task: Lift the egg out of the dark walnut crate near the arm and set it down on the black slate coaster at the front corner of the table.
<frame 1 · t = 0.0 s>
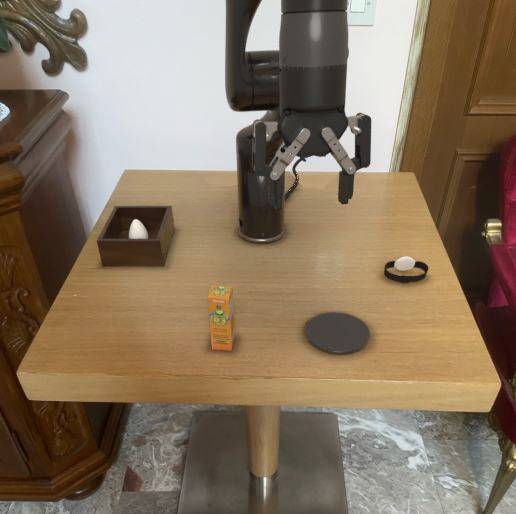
hand: (310, 205, 66), 22 cm above the table, tool pointing down, fingers open, 8 cm apart
crate: (140, 247, 104), on the table
coaster: (337, 334, 82), on the table
egg: (140, 246, 104), resting on crate
watch: (404, 278, 95), on the table
supplement box: (223, 345, 81), on the table
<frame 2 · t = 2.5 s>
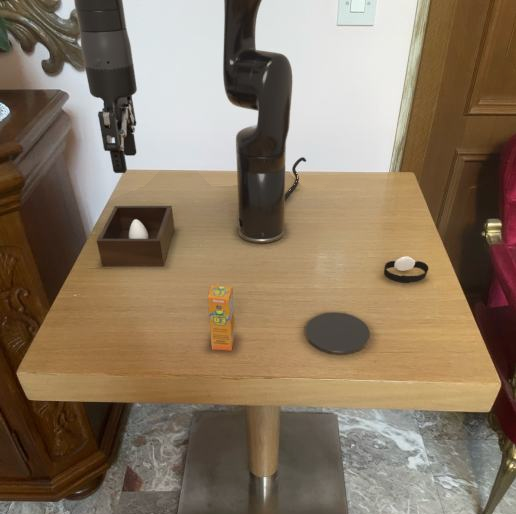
hand: (125, 163, 93), 17 cm above the table, tool pointing down, fingers open, 8 cm apart
nothing on the table moved.
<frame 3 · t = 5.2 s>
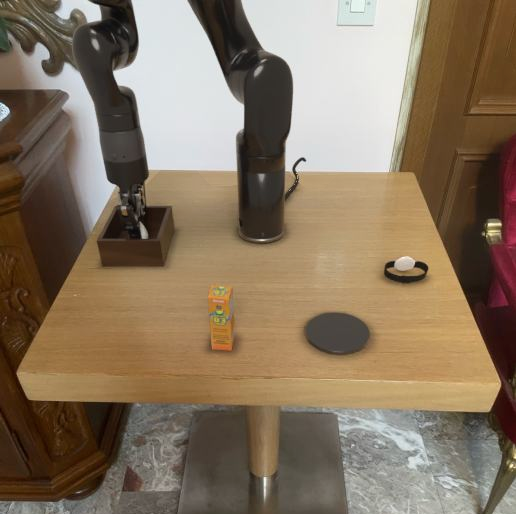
hand: (139, 239, 103), 2 cm above the table, tool pointing down, fingers closed on egg, 3 cm apart
egg: (140, 246, 104), resting on crate, touching gripper
everything else where it was.
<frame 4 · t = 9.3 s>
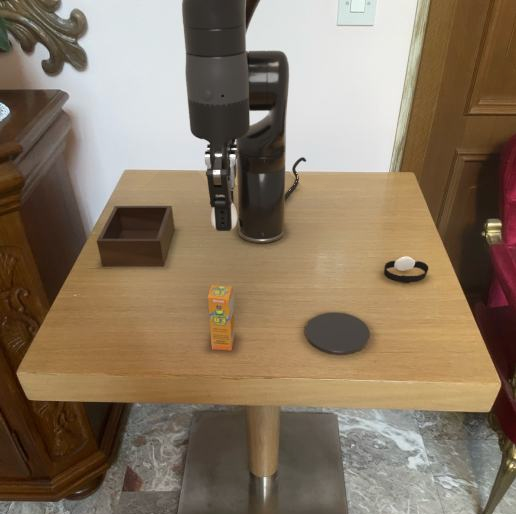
hand: (225, 221, 75), 17 cm above the table, tool pointing down, fingers closed on egg, 3 cm apart
egg: (225, 231, 75), point 16 cm above the table, touching gripper
everything else where it was.
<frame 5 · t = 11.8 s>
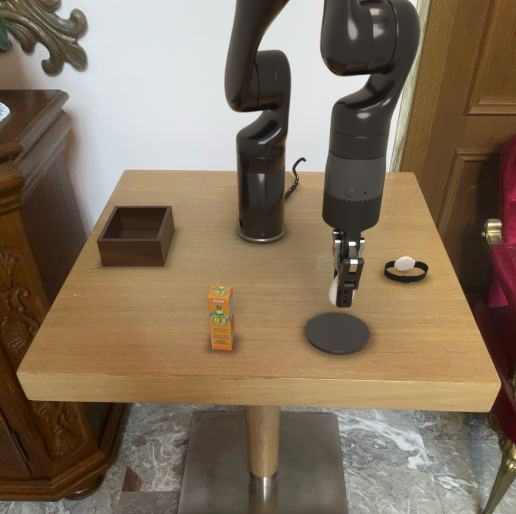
hand: (341, 297, 78), 7 cm above the table, tool pointing down, fingers closed on egg, 3 cm apart
egg: (340, 304, 78), point 6 cm above the table, touching gripper
everything else where it was.
when the fingers open (2 cm above the table, at t = 13.5 s): egg stays where it is, resting on coaster.
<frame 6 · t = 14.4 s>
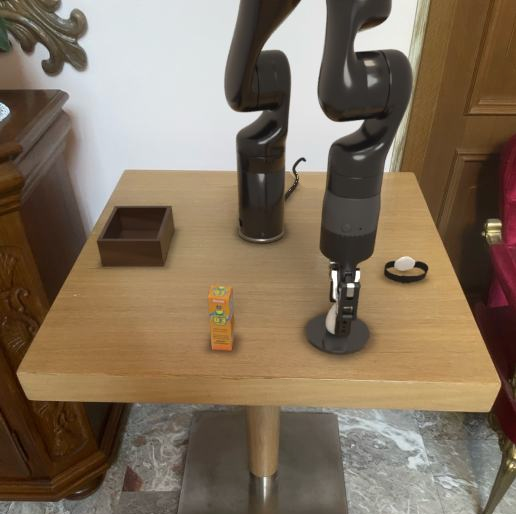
hand: (338, 317, 80), 3 cm above the table, tool pointing down, fingers open, 8 cm apart
egg: (336, 332, 82), resting on coaster
everything else where it was.
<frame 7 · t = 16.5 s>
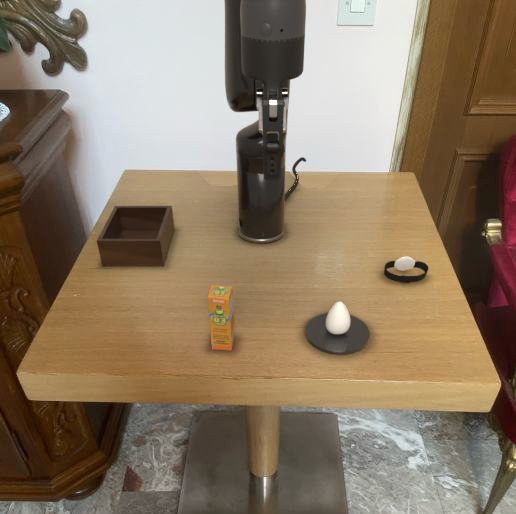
hand: (271, 166, 72), 24 cm above the table, tool pointing down, fingers open, 8 cm apart
nothing on the table moved.
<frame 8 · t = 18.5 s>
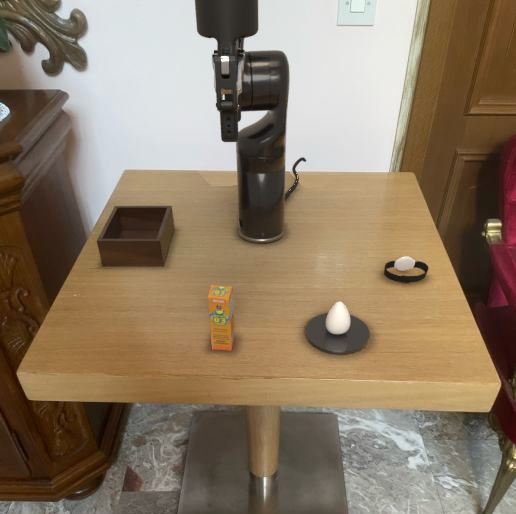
hand: (231, 130, 72), 28 cm above the table, tool pointing down, fingers open, 8 cm apart
nothing on the table moved.
at the end: egg inside the target area on the coaster (0.1 cm from its centre), point 0.4 cm above the coaster's base; the gripper is holding nothing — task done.
